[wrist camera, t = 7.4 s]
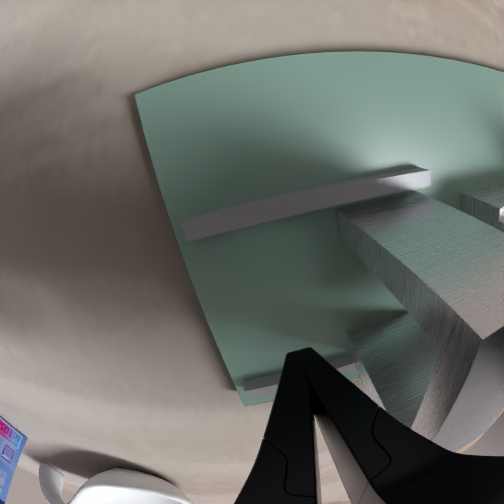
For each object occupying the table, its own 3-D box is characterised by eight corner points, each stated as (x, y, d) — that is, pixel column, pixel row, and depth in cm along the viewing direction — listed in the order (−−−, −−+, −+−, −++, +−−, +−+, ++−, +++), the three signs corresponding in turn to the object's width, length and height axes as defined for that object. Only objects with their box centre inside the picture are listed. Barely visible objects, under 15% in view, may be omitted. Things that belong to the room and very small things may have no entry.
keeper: (416, 191, 10) (567, 272, 3) (409, 326, 12) (485, 431, 6) (335, 209, 10) (482, 339, 3) (346, 349, 12) (405, 478, 6)
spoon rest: (149, 453, 18) (141, 523, 11) (214, 491, 23) (216, 542, 16) (23, 446, 20) (10, 484, 13) (82, 485, 25) (75, 520, 18)
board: (520, 81, 8) (539, 82, 6) (513, 288, 14) (526, 299, 12) (142, 98, 8) (127, 91, 7) (243, 392, 14) (245, 416, 13)
